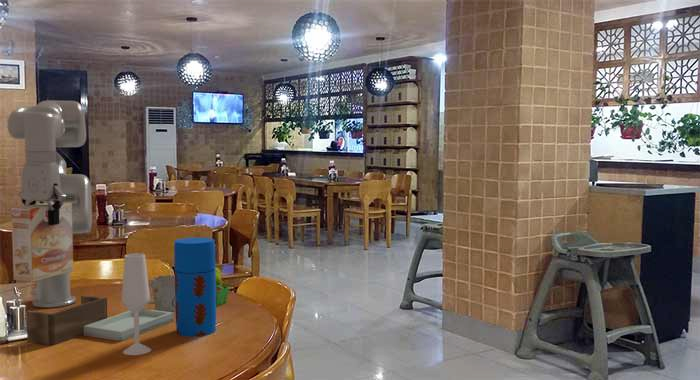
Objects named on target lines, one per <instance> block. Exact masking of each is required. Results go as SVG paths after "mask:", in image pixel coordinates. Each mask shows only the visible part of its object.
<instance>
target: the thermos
mask: <svg viewBox="0 0 700 380" xmlns="http://www.w3.org/2000/svg"><path fill="white" fill-rule="evenodd" d="M173 248H174V249H173V251H174V254H173V255H174V276H175V311H174V312H175V325H176V326H175V327H176V334H177V335H179V336H182V337H189V338H191V337H203V336H207V335H208V336H209V335H211V334H213V333H215V332H216V330H217V328H216V327H217V306H216V269H215V268H216V267H217V266H216V242H215V239H214V238H209V237H187V238H186V237H184V238H180V239H179V238H178V239H176V240H175V241H174V246H173Z"/></svg>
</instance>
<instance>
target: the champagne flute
mask: <svg viewBox="0 0 700 380" xmlns="http://www.w3.org/2000/svg"><path fill="white" fill-rule="evenodd" d="M123 261H124V262H123V274H122V287H121V289H122V290H121V303H122V304H123V305H124V307H125V308H126V309H127V310H128V311H131V312H133V313H134V337H133V338H134V343H133V344H131V345H130V346H129V347H127V348H125V349H124V350H123V351H122V353H123V354H124V355H127V356H128V355H129V356H139V355H144V354H147V353H149V352H151V351H152V348H150V347H149V346H147V345H144V344H142V343H140V334H139V312H140V311H141V310H142V309H145V307H147V305H149V303H148V302H149V300H150V301H151V295H150V286H149V285H148V282H149V278H148V277H149V276H148V270H147V261H146V254H145V253H129V254H125V255H124V260H123Z"/></svg>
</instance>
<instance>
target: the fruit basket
mask: <svg viewBox="0 0 700 380" xmlns="http://www.w3.org/2000/svg"><path fill="white" fill-rule="evenodd" d="M215 269H216V307H218V306H220V305H223V304H225V303H227V299H228V296H229V295H228V294H229V292H230V289H231V286H227V285H221V283H222V272H221V269H220V268H219V266H216V268H215Z"/></svg>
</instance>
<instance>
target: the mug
mask: <svg viewBox="0 0 700 380" xmlns="http://www.w3.org/2000/svg"><path fill="white" fill-rule="evenodd" d="M148 285H149V287H151V289H152V296H153V300H152V301H151V299H150V300H149V302H148V305H154V308H155V309H154V310H157V311H165V312H173V313H174V312H175V275H157V276H154V277H151V279H150V282H149V281H148Z"/></svg>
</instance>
